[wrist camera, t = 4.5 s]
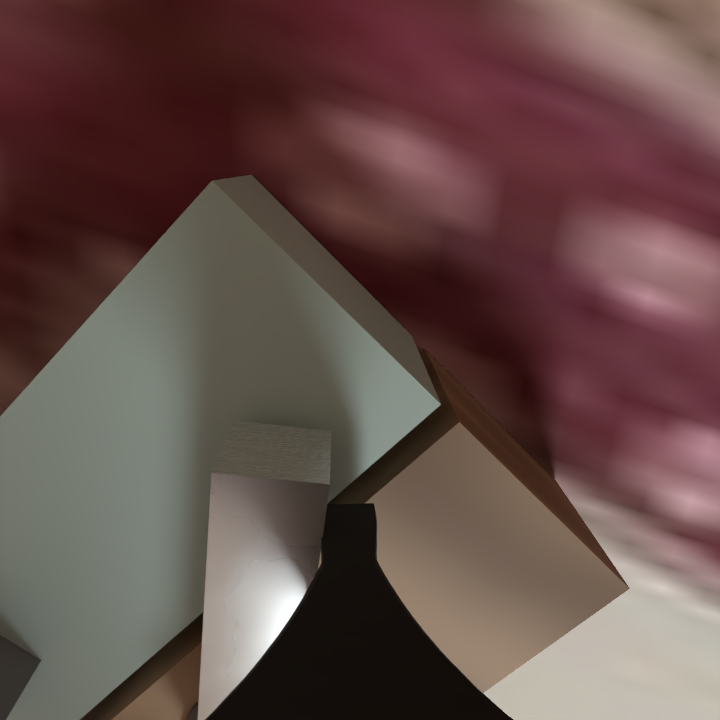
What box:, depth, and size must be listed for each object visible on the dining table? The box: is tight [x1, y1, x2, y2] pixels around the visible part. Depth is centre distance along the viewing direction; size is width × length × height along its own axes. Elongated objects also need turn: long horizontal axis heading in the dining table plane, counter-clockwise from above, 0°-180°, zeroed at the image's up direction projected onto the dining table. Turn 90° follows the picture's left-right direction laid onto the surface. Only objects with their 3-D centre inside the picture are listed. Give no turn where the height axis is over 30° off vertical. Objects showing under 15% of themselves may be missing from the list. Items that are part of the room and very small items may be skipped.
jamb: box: [80, 350, 630, 720], centre depth 17 cm, size 15×6×5 cm, turn 134°
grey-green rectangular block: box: [0, 175, 441, 720], centre depth 14 cm, size 15×6×7 cm, turn 134°
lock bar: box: [198, 421, 331, 720], centre depth 12 cm, size 11×3×3 cm, turn 172°
